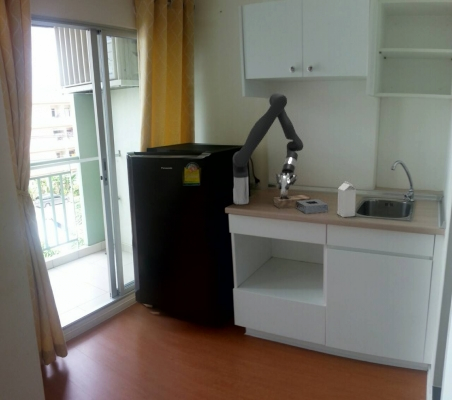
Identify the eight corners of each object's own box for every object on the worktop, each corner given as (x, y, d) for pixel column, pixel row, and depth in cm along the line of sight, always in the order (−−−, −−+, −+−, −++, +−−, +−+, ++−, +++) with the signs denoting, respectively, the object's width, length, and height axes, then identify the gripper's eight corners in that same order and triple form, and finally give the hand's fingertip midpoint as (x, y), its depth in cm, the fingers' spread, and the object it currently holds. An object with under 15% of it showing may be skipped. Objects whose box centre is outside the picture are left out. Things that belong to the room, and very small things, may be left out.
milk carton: (343, 217, 227) (344, 183, 222) (337, 214, 233) (338, 181, 229) (354, 216, 228) (356, 182, 224) (348, 213, 235) (350, 180, 231)
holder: (305, 213, 236) (305, 206, 235) (296, 208, 250) (296, 200, 249) (328, 211, 239) (328, 204, 238) (317, 206, 252) (317, 199, 251)
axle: (282, 202, 252) (282, 176, 249) (279, 200, 256) (280, 175, 252) (288, 201, 253) (288, 175, 249) (285, 200, 257) (286, 174, 253)
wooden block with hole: (279, 208, 249) (279, 200, 248) (274, 204, 259) (273, 197, 258) (310, 206, 253) (310, 198, 252) (303, 202, 263) (303, 194, 262)
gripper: (277, 162, 259) (270, 184, 251) (299, 163, 253) (293, 186, 245) (279, 169, 265) (273, 191, 257) (301, 170, 259) (295, 193, 251)
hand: (283, 188), depth 251 cm, fingers closed on axle, 4 cm apart
